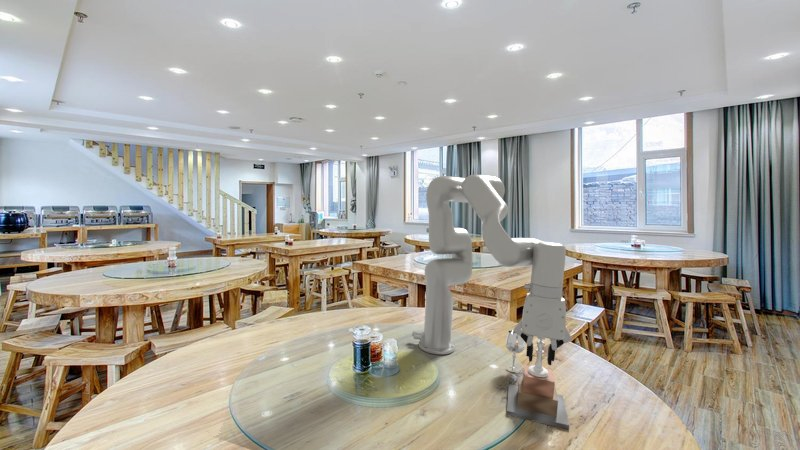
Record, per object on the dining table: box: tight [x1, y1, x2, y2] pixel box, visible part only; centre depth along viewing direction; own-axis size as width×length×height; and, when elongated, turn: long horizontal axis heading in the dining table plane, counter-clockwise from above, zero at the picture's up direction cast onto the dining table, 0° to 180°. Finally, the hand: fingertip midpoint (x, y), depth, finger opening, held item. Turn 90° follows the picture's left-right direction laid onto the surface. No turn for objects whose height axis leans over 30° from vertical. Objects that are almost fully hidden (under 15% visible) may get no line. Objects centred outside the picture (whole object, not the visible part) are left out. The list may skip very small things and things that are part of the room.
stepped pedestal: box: [506, 364, 570, 430], centre depth 92 cm, size 14×14×9 cm
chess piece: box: [528, 337, 548, 377], centre depth 91 cm, size 5×5×10 cm
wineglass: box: [505, 329, 526, 370], centre depth 112 cm, size 6×6×12 cm
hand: (539, 360), depth 91 cm, fingers open, 3 cm apart
